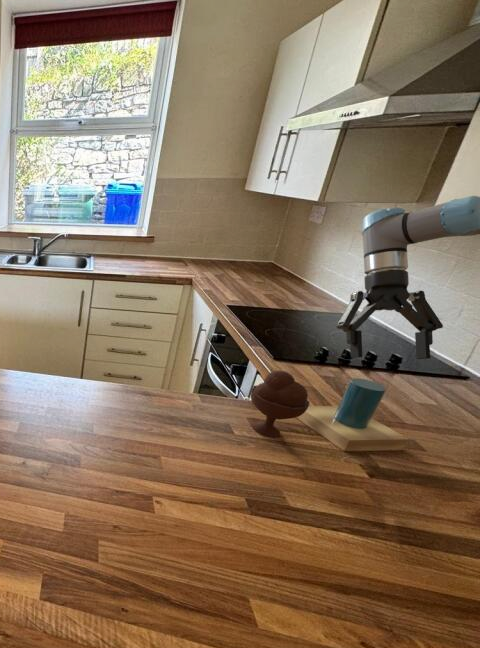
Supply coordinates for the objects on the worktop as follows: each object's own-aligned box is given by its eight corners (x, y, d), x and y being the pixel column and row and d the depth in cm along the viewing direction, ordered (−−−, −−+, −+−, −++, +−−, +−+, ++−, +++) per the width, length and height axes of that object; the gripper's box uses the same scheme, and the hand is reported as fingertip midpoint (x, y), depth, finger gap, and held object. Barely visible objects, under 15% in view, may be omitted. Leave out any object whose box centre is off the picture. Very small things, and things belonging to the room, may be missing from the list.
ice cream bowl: (235, 431, 95) (255, 374, 89) (245, 412, 102) (264, 359, 96) (290, 451, 88) (316, 391, 82) (296, 430, 96) (320, 374, 90)
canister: (374, 428, 92) (394, 390, 88) (349, 429, 91) (368, 391, 87) (350, 414, 97) (368, 378, 93) (326, 414, 97) (343, 378, 93)
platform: (402, 450, 90) (409, 439, 88) (344, 451, 89) (349, 440, 87) (345, 415, 102) (350, 405, 101) (293, 416, 101) (297, 406, 100)
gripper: (432, 276, 100) (437, 360, 99) (317, 277, 106) (320, 357, 104) (462, 267, 93) (468, 358, 91) (337, 269, 98) (340, 355, 97)
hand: (389, 358), depth 98 cm, fingers open, 13 cm apart
